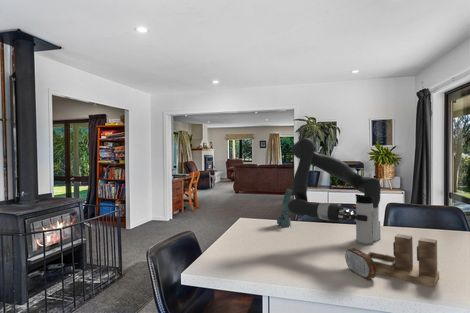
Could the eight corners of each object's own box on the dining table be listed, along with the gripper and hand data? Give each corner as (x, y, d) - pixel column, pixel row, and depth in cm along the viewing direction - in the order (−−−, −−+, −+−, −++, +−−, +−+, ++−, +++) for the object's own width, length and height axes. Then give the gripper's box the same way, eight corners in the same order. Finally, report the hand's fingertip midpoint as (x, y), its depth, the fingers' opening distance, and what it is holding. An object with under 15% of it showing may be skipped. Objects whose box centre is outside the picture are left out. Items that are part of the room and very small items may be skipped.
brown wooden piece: (361, 268, 110) (360, 233, 110) (370, 261, 118) (369, 227, 118) (434, 287, 94) (433, 245, 94) (439, 276, 102) (438, 238, 102)
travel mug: (352, 241, 117) (352, 193, 117) (367, 240, 117) (367, 193, 117) (360, 246, 111) (360, 195, 111) (376, 245, 111) (376, 195, 111)
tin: (377, 282, 98) (376, 258, 98) (369, 283, 97) (369, 258, 97) (350, 266, 113) (350, 245, 113) (343, 267, 112) (343, 245, 112)
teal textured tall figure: (289, 232, 172) (302, 193, 173) (273, 225, 174) (286, 187, 175) (289, 229, 186) (301, 193, 187) (274, 223, 188) (286, 188, 189)
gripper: (322, 205, 119) (363, 210, 107) (337, 201, 129) (376, 205, 118) (322, 223, 119) (364, 230, 107) (337, 217, 129) (376, 223, 118)
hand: (370, 217), depth 112 cm, fingers closed on travel mug, 6 cm apart
